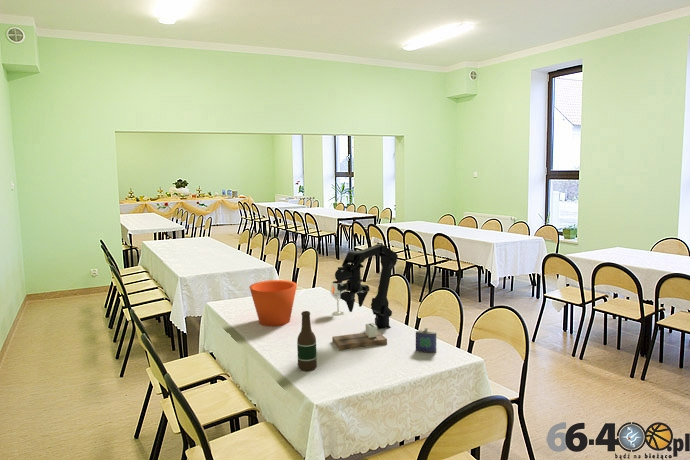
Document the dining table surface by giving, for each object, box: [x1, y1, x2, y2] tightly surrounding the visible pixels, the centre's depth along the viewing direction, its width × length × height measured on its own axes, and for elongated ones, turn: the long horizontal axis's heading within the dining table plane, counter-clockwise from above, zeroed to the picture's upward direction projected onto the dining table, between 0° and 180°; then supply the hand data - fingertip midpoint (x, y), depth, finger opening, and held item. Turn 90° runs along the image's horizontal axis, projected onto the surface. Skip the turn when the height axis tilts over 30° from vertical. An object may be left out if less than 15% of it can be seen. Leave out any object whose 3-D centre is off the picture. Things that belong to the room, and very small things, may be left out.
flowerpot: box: [249, 279, 298, 327], centre depth 272 cm, size 25×25×20 cm
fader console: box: [331, 330, 388, 351], centre depth 239 cm, size 23×12×3 cm, turn 107°
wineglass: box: [330, 280, 346, 316], centre depth 284 cm, size 8×8×18 cm
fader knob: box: [365, 322, 378, 338], centre depth 240 cm, size 4×5×5 cm
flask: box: [415, 327, 437, 354], centre depth 226 cm, size 9×3×11 cm, turn 74°
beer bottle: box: [296, 310, 318, 372], centre depth 210 cm, size 8×8×24 cm
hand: (355, 309), depth 246 cm, fingers open, 9 cm apart
